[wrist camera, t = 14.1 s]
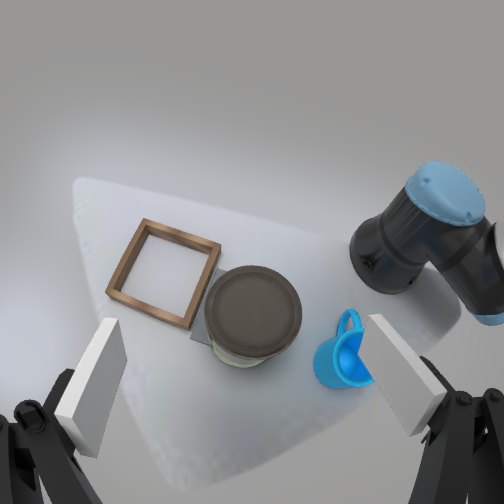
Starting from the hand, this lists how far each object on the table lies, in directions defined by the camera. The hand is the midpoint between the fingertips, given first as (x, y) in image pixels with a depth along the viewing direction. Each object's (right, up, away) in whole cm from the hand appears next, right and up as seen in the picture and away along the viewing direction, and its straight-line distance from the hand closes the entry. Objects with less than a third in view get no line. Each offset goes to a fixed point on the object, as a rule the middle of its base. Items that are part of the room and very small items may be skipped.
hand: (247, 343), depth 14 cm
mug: (+14, -11, +29) cm, 34 cm away
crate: (-14, +1, +31) cm, 34 cm away
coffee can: (-1, -8, +28) cm, 29 cm away
